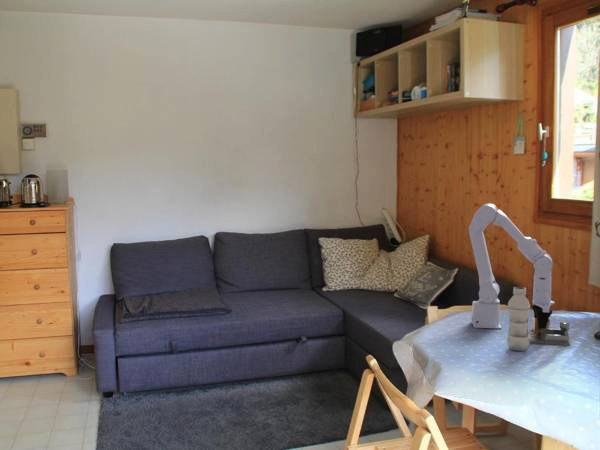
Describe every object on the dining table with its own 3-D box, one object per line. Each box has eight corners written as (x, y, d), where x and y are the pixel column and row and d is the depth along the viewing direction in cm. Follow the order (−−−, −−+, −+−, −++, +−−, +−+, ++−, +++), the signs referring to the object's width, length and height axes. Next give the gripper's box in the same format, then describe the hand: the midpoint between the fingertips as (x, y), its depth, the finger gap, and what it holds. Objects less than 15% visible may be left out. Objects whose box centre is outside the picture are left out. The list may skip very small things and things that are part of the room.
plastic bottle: (531, 353, 176) (533, 291, 174) (508, 352, 178) (510, 290, 175) (527, 346, 183) (529, 286, 180) (505, 345, 184) (506, 285, 181)
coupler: (530, 343, 186) (530, 326, 185) (524, 333, 196) (525, 317, 195) (572, 345, 183) (573, 327, 183) (564, 335, 193) (565, 318, 192)
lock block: (534, 332, 197) (534, 318, 196) (532, 329, 201) (532, 315, 200) (550, 332, 196) (550, 318, 195) (547, 329, 200) (548, 315, 199)
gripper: (559, 294, 189) (558, 334, 190) (549, 284, 203) (548, 321, 204) (537, 293, 190) (535, 333, 192) (528, 284, 204) (527, 320, 206)
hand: (540, 327), depth 198 cm, fingers closed on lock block, 4 cm apart
